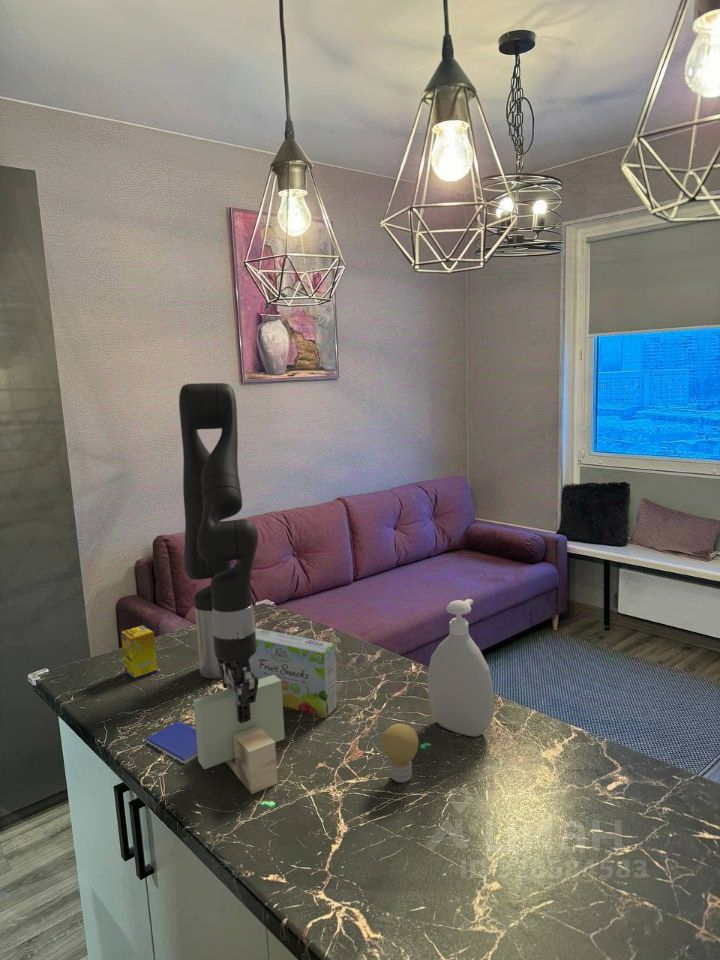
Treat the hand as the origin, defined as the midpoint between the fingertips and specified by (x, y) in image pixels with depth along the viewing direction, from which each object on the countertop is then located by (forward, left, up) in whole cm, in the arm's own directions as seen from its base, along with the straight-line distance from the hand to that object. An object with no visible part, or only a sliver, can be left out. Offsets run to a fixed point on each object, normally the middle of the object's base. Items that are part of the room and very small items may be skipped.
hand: (240, 716), depth 120 cm
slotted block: (0, 0, -10) cm, 10 cm away
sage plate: (0, 0, -7) cm, 7 cm away
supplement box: (-51, -5, -10) cm, 52 cm away
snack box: (-15, +18, -10) cm, 25 cm away
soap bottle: (+15, +41, -10) cm, 45 cm away
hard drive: (-14, -7, -10) cm, 19 cm away
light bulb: (+21, +21, -10) cm, 31 cm away
